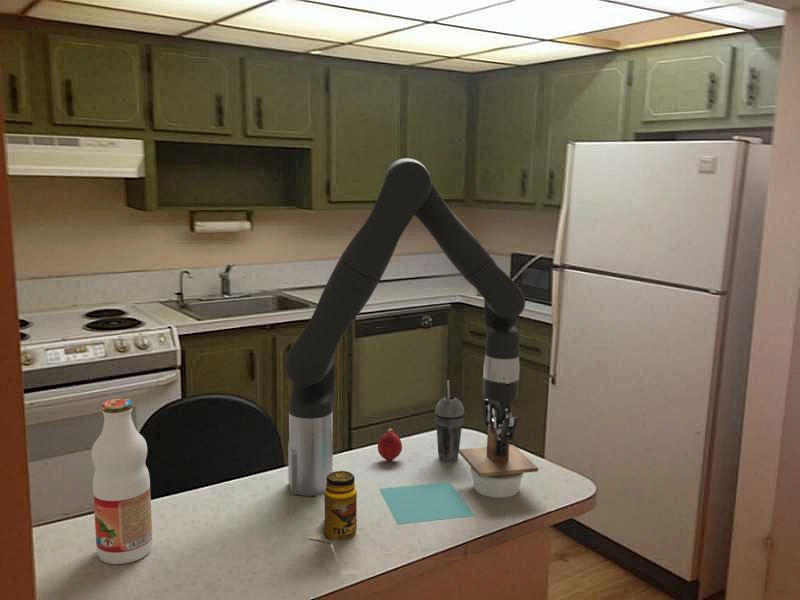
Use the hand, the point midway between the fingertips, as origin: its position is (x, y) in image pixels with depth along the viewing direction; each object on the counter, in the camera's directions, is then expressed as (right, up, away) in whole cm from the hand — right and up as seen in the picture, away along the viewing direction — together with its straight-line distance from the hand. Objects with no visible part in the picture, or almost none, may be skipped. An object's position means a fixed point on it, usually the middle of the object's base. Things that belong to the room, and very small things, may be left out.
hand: (497, 452), depth 155 cm
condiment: (-33, -12, -18) cm, 40 cm away
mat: (-16, -10, -6) cm, 19 cm away
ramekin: (0, -9, +2) cm, 9 cm away
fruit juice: (-70, -13, -26) cm, 76 cm away
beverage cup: (-10, -6, +17) cm, 21 cm away
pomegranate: (-24, -6, +16) cm, 29 cm away
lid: (0, -2, 0) cm, 2 cm away
